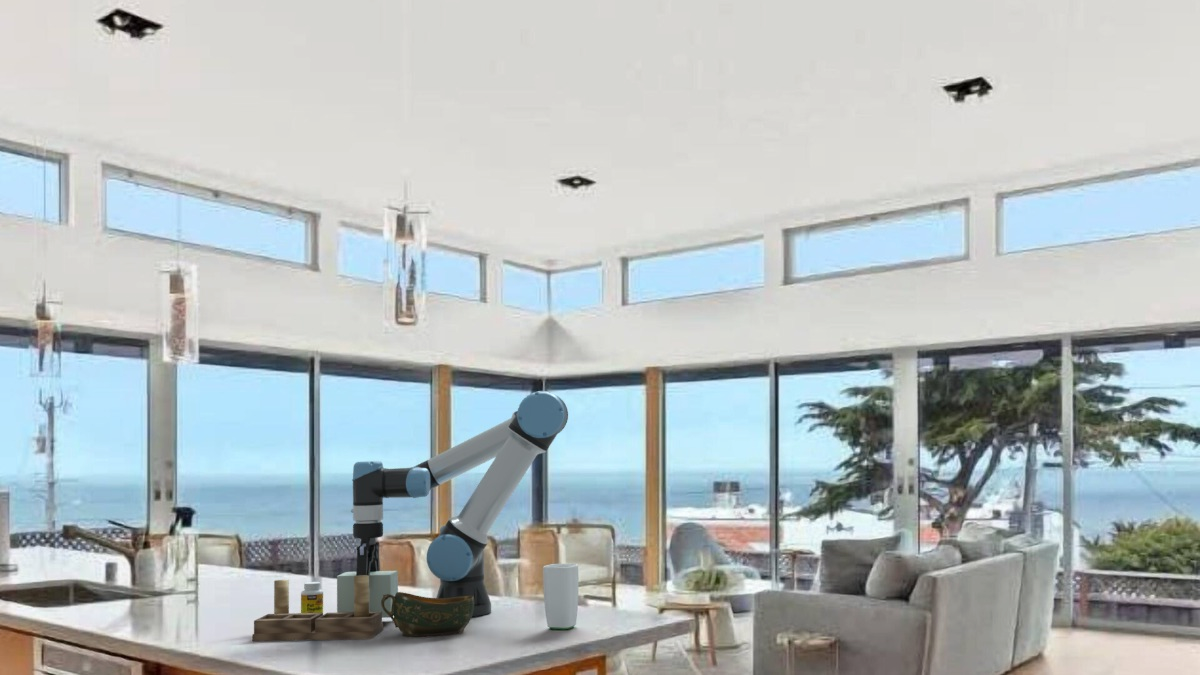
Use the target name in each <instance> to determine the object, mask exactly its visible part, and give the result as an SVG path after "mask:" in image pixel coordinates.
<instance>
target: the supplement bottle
mask: <svg viewBox="0 0 1200 675" xmlns="http://www.w3.org/2000/svg"><path fill="white" fill-rule="evenodd" d="M303 589H304V590H302V591H301V592H300V613H323V614H324V591H323V589H321V582H320V581H309V582H304V584H303Z"/></svg>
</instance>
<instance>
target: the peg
mask: <svg viewBox="0 0 1200 675" xmlns="http://www.w3.org/2000/svg"><path fill="white" fill-rule="evenodd" d="M289 580H290V579H277V580H276V579H275V580H274V581H273V583H274V584H273V586H274V587H273V589H274V590H273V593H274V594H273V595H274V596H273V598H274V599H273V603H274V604H273V614H290V581H289Z"/></svg>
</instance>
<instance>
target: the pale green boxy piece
mask: <svg viewBox="0 0 1200 675" xmlns="http://www.w3.org/2000/svg"><path fill="white" fill-rule="evenodd" d="M398 572H399V571H398V570H380V571H375V572H370V575H369V588H370V612H382V619H383V618H387V619H389V618H390V619H391V617H390V616H389V615H388V614H387V613H386V612H385V611H384V610H383V608H382V606H381V600H382V598H383V595H386V594H391V595H393V596H395V595H396V593H397V592H399V573H398ZM354 576H356V571H345V572H343V573H340V574H339V575H337V576H336V610H337V611H336V613H338V612H354ZM392 602H393V600H392V598H390V597H389V598H388V599H386V600H385V602H384V605H385V608H386V609H387V610H388V611H389V612H391V610H392ZM393 617H394V615H393Z"/></svg>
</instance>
